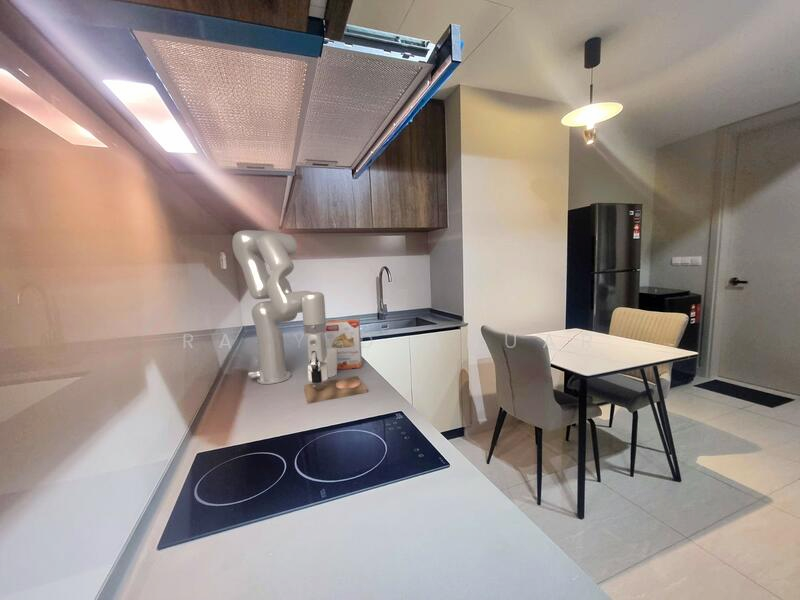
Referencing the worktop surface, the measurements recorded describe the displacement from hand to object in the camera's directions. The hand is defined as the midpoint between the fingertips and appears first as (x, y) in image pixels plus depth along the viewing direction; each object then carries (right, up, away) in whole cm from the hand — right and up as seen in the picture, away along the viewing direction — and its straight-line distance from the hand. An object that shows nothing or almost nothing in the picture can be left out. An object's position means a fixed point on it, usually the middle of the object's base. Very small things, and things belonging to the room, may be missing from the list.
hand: (318, 378), depth 112 cm
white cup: (-1, -4, +19) cm, 20 cm away
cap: (0, 0, 0) cm, 0 cm away
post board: (+5, -5, +2) cm, 8 cm away
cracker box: (+5, -2, +28) cm, 28 cm away
